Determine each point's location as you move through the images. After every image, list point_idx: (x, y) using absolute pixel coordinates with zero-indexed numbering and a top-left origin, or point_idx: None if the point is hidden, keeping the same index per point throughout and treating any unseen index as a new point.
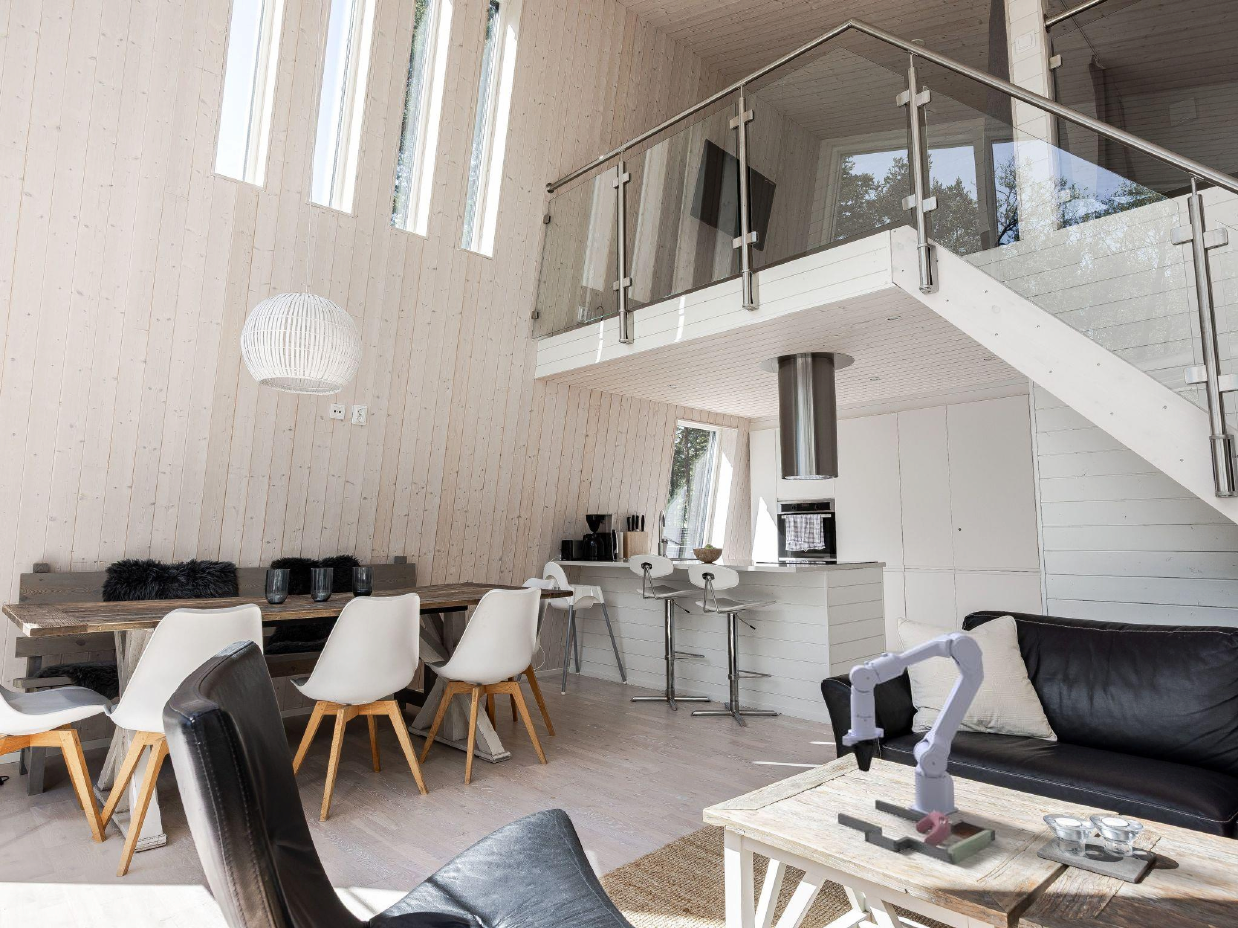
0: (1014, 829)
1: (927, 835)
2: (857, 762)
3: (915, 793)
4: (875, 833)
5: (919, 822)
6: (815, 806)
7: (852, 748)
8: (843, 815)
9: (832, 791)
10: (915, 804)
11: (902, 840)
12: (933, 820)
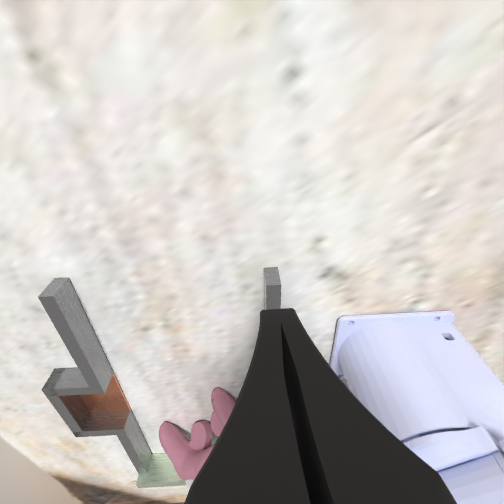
0: None
1: (164, 444)
2: (257, 341)
3: (375, 360)
4: (61, 403)
5: (215, 411)
6: (64, 127)
7: (215, 446)
8: (49, 312)
9: (303, 15)
10: (378, 318)
11: (97, 434)
12: (196, 463)
